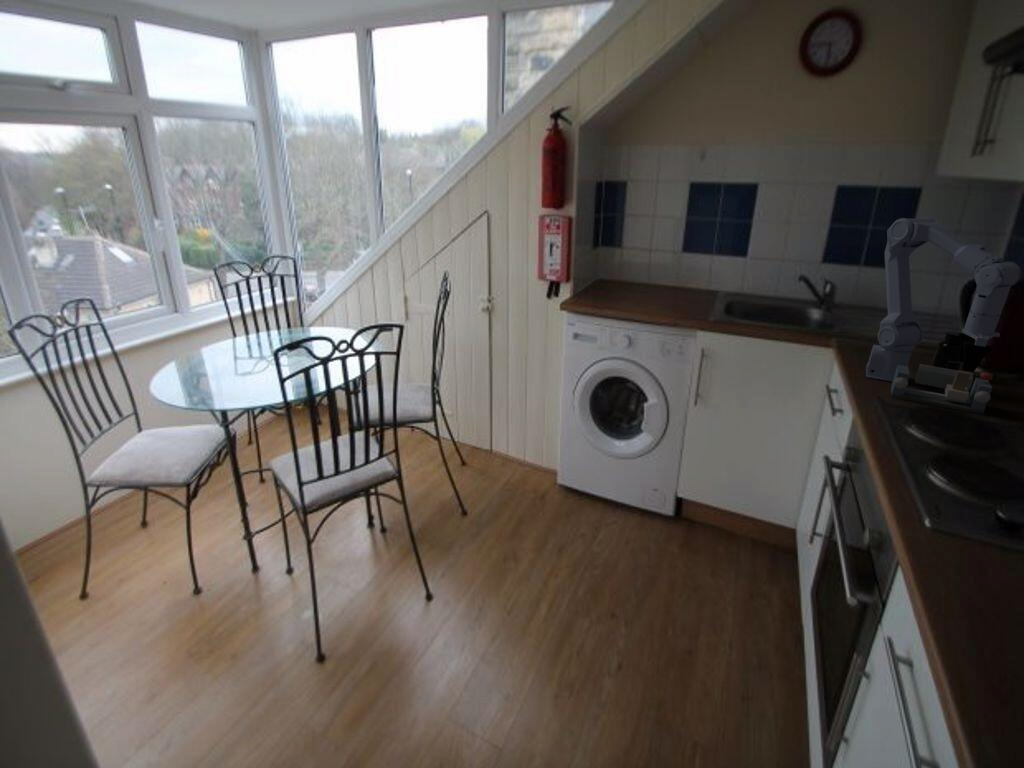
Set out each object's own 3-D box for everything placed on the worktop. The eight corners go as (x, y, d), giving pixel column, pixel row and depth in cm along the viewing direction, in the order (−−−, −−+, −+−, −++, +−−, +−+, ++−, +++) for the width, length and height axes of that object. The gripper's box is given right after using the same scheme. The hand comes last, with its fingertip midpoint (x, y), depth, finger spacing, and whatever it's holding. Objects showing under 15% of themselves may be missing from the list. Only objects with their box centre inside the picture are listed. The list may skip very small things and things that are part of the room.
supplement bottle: (949, 378, 155) (962, 338, 151) (924, 370, 161) (936, 331, 157) (963, 375, 158) (977, 335, 153) (938, 367, 164) (950, 329, 159)
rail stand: (889, 396, 142) (896, 372, 139) (889, 387, 148) (896, 364, 146) (984, 414, 132) (994, 388, 130) (980, 403, 138) (989, 378, 136)
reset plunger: (979, 378, 133) (981, 374, 132) (978, 375, 135) (980, 371, 134) (992, 380, 132) (994, 376, 131) (990, 377, 134) (992, 373, 133)
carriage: (945, 400, 137) (954, 373, 134) (943, 394, 141) (952, 367, 138) (965, 404, 135) (975, 376, 132) (963, 397, 139) (972, 370, 136)
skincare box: (968, 387, 149) (915, 377, 156) (973, 373, 147) (920, 363, 154) (968, 394, 144) (913, 383, 151) (973, 379, 143) (918, 368, 150)
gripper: (1012, 322, 122) (991, 378, 127) (1001, 309, 133) (982, 361, 138) (972, 318, 125) (954, 372, 130) (965, 305, 137) (948, 356, 142)
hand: (966, 366), depth 134 cm, fingers open, 7 cm apart
